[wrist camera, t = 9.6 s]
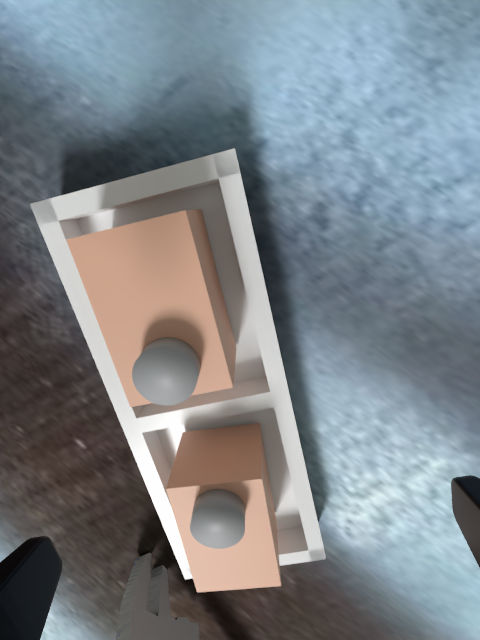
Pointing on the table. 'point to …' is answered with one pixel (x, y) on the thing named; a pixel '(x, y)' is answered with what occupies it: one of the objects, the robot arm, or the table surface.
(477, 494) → the robot arm
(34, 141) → the table surface
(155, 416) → the housing
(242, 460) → the orange block with knob
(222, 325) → the block
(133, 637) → the caliper
